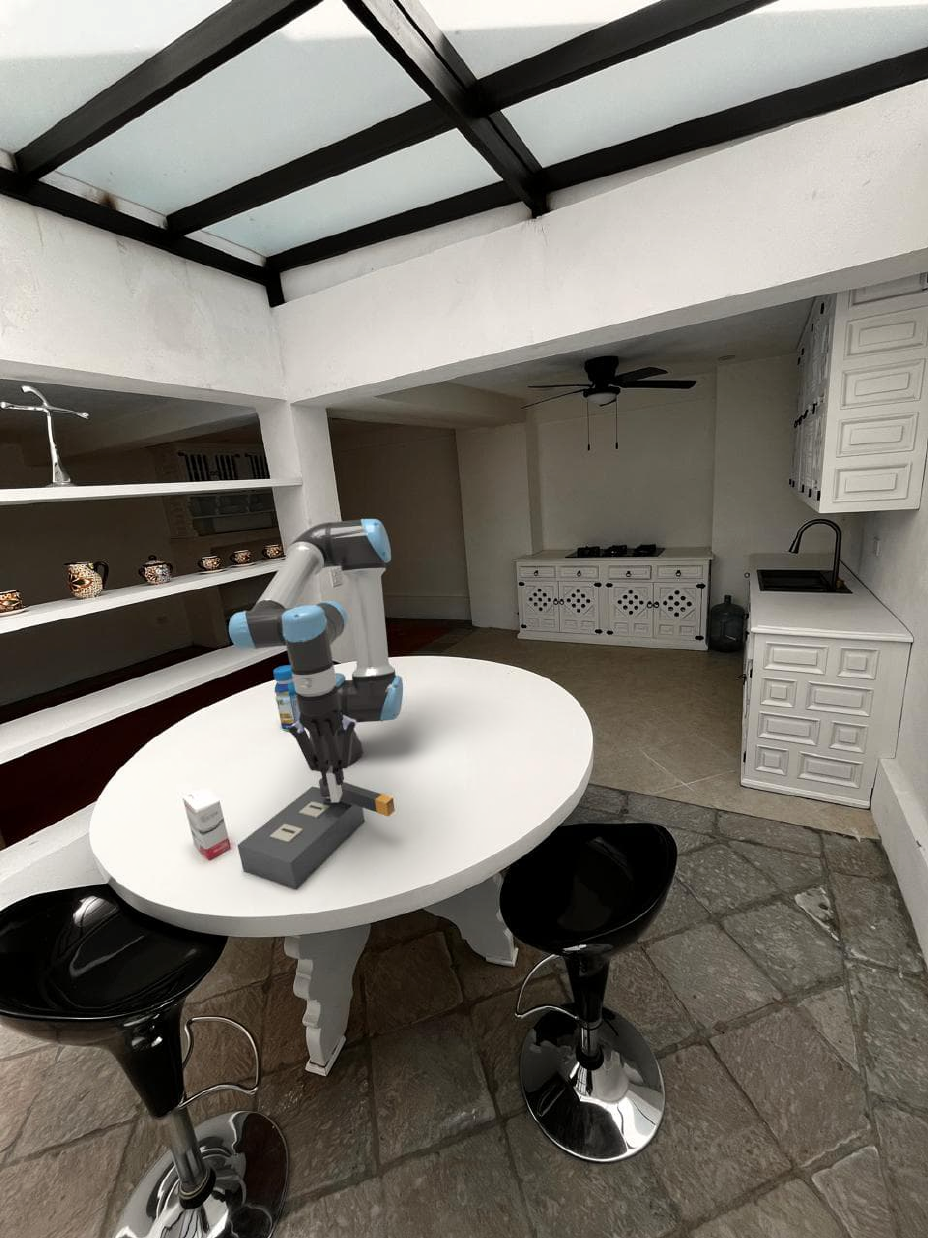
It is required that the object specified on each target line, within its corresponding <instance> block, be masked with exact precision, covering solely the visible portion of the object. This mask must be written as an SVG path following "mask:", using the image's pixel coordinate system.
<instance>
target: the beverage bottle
mask: <svg viewBox="0 0 928 1238" xmlns="http://www.w3.org/2000/svg"><path fill="white" fill-rule="evenodd" d="M273 677H274V680H275V682H276V683H275V687H274V694H275V695H276V696H275V701H276V705H277V710H278V714H279V718H280V726H281V729H282V730H283V731H285V732H289V729H290V727H291V726H292V725H293V723H294V722H298V721H299V717H300V711H299V707H298V702H297V697H296V695H297V694H298V693H297V692H296V691H295V686H294V681H293V676H292V671H291V665H290V664H288V665H281V666H278V667H276V668H275V669H273Z"/></svg>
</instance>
